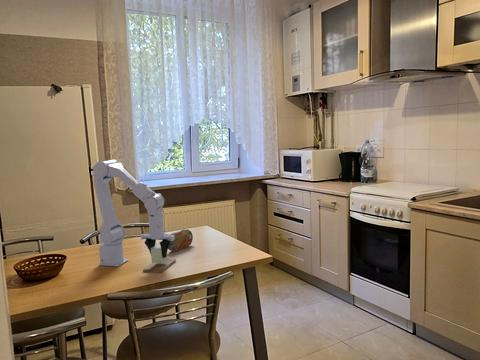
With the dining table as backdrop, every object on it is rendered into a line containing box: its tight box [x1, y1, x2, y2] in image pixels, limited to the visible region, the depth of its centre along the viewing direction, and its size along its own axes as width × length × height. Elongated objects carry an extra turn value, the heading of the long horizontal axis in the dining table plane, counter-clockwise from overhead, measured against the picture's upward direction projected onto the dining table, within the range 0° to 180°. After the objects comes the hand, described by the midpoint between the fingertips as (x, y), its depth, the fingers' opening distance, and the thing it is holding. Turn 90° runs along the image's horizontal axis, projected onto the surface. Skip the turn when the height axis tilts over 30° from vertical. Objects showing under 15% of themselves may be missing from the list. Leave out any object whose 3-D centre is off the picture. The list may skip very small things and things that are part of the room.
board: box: [142, 258, 176, 274], centre depth 158 cm, size 8×13×2 cm, turn 163°
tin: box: [168, 229, 194, 252], centre depth 180 cm, size 15×3×8 cm, turn 143°
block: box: [150, 244, 168, 263], centre depth 157 cm, size 5×5×6 cm
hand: (159, 256), depth 157 cm, fingers closed on block, 4 cm apart
